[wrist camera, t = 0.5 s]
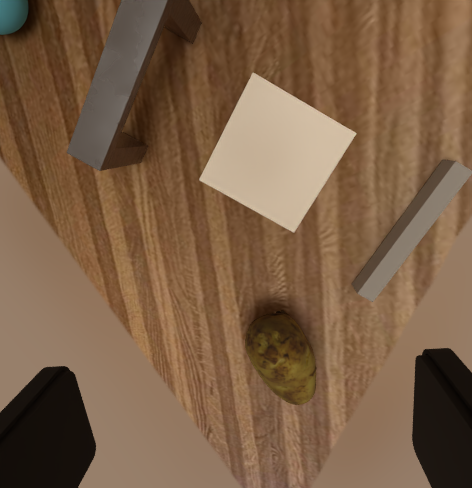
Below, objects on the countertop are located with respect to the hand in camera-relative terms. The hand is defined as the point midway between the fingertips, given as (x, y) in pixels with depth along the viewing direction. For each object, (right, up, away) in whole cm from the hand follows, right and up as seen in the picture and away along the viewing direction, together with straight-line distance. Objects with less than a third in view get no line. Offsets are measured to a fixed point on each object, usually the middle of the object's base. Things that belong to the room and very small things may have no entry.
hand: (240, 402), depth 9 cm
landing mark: (+4, +13, +27) cm, 30 cm away
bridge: (-8, +20, +26) cm, 34 cm away
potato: (+5, -8, +33) cm, 35 cm away
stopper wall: (+18, +6, +28) cm, 34 cm away
